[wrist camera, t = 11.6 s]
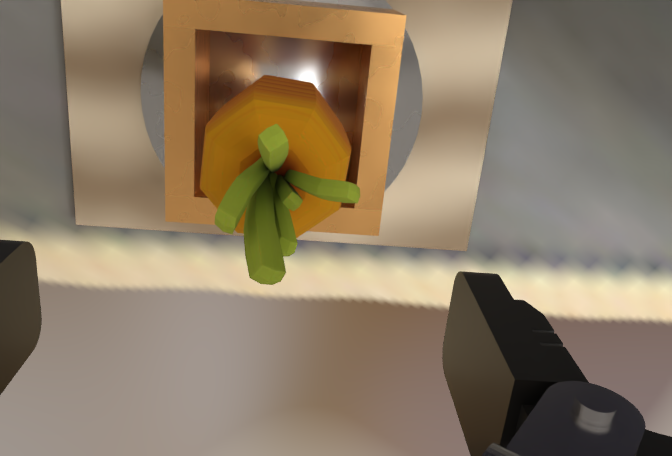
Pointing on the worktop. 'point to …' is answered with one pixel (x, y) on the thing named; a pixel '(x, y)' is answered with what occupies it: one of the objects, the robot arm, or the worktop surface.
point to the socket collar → (287, 62)
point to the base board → (395, 230)
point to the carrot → (275, 169)
